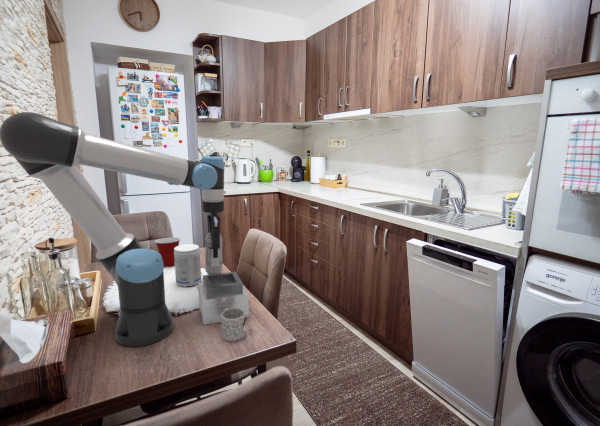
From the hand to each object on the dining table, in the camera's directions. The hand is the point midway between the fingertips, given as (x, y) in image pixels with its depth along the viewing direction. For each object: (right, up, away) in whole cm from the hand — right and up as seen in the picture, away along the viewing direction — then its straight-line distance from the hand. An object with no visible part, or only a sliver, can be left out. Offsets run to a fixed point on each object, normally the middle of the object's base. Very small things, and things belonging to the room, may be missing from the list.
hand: (213, 262), depth 120 cm
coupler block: (+6, -14, -12) cm, 20 cm away
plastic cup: (-29, -5, +30) cm, 42 cm away
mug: (+11, -17, -24) cm, 32 cm away
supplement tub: (-13, -10, +10) cm, 19 cm away
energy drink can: (0, -4, +1) cm, 4 cm away
